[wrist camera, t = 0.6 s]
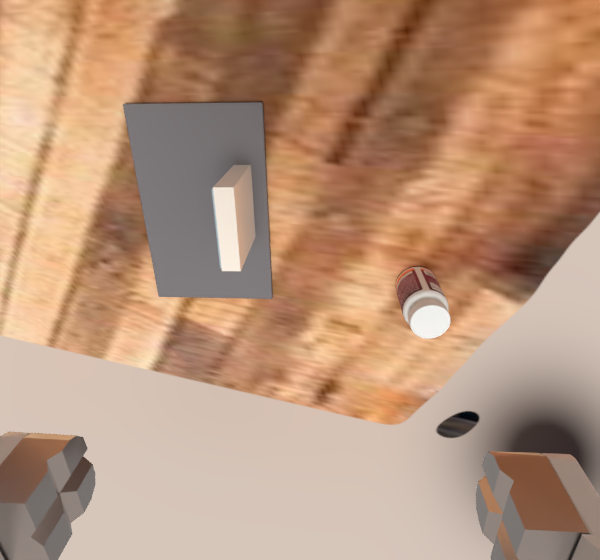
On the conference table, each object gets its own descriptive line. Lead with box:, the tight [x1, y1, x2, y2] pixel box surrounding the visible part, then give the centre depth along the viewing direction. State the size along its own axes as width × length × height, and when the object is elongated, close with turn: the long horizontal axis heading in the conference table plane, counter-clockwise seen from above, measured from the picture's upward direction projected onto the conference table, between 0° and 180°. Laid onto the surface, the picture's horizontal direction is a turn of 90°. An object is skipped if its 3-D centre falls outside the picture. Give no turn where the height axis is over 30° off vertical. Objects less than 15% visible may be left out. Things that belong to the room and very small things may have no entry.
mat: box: [123, 102, 273, 299], centre depth 48 cm, size 22×14×1 cm, turn 1°
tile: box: [211, 165, 256, 271], centre depth 43 cm, size 8×2×9 cm, turn 1°
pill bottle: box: [396, 267, 450, 339], centre depth 47 cm, size 5×5×8 cm
